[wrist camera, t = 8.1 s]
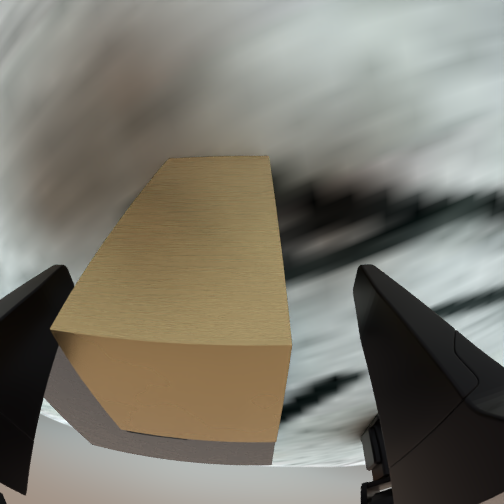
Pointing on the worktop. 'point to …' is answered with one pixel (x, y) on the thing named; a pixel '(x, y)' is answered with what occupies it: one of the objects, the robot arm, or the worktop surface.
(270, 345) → the brass peg
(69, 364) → the post plate
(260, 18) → the worktop surface
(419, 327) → the robot arm
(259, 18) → the worktop surface
